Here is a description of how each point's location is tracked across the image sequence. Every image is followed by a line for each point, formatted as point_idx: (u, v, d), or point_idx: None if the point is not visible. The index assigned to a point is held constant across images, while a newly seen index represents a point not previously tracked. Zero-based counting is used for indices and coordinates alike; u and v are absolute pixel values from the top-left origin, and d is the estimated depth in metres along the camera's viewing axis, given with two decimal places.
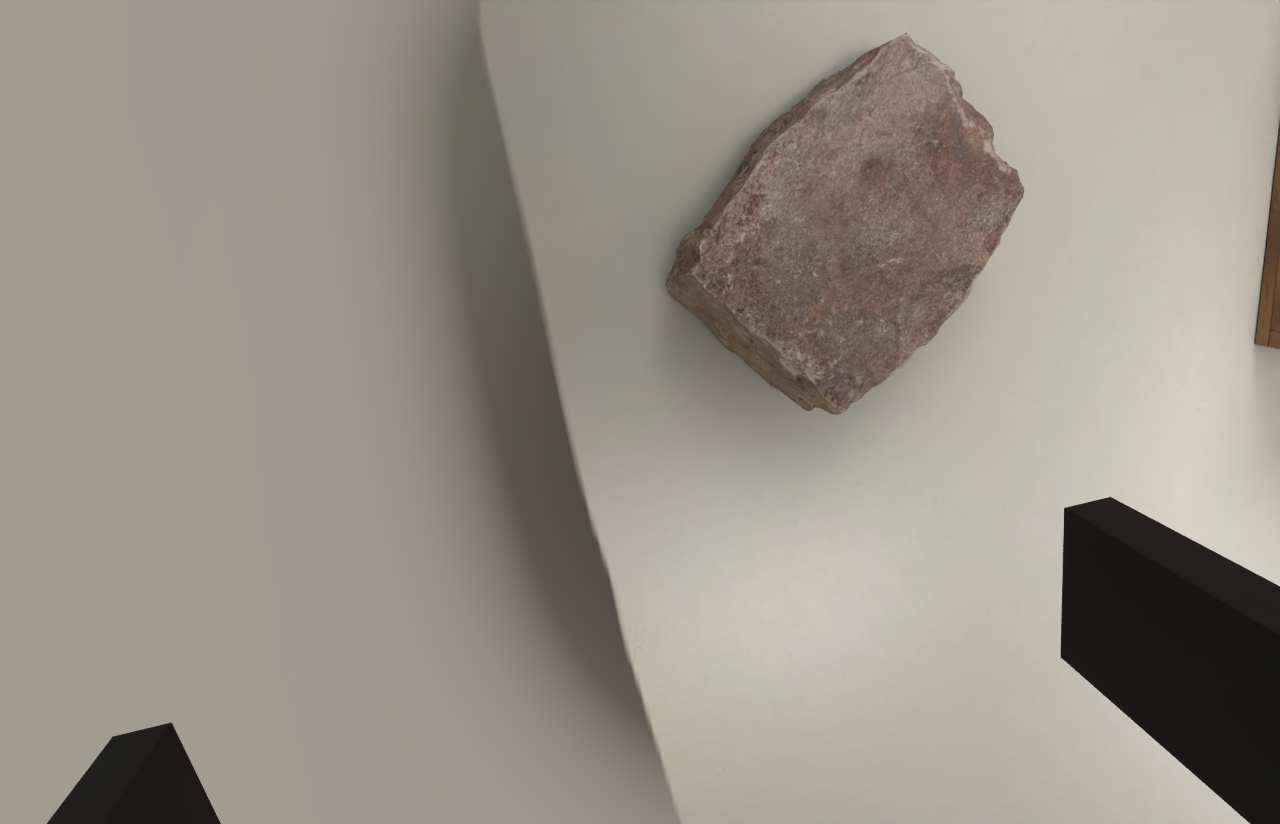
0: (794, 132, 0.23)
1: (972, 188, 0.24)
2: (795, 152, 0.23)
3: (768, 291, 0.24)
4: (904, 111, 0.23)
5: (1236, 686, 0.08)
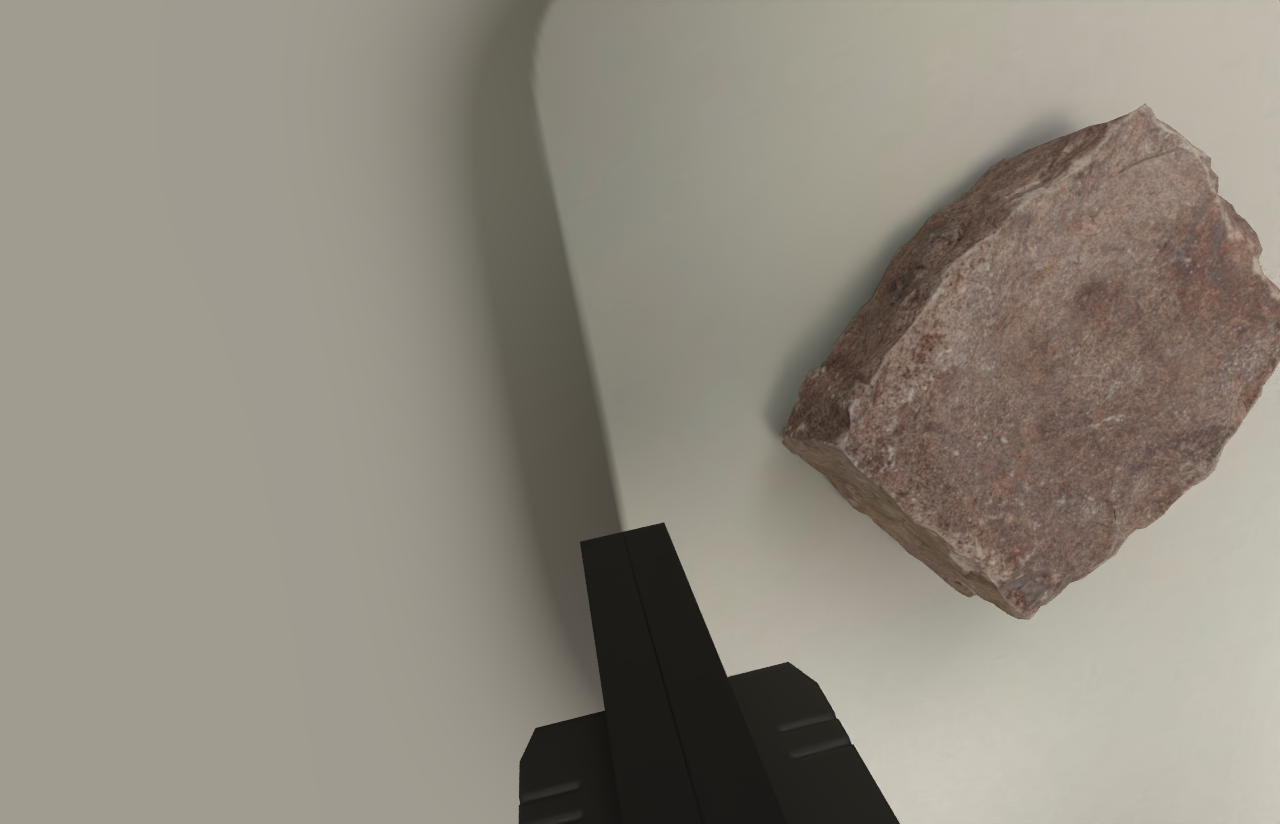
0: (987, 248, 0.16)
1: (1230, 322, 0.17)
2: (987, 275, 0.16)
3: (942, 466, 0.17)
4: (1146, 218, 0.16)
5: None
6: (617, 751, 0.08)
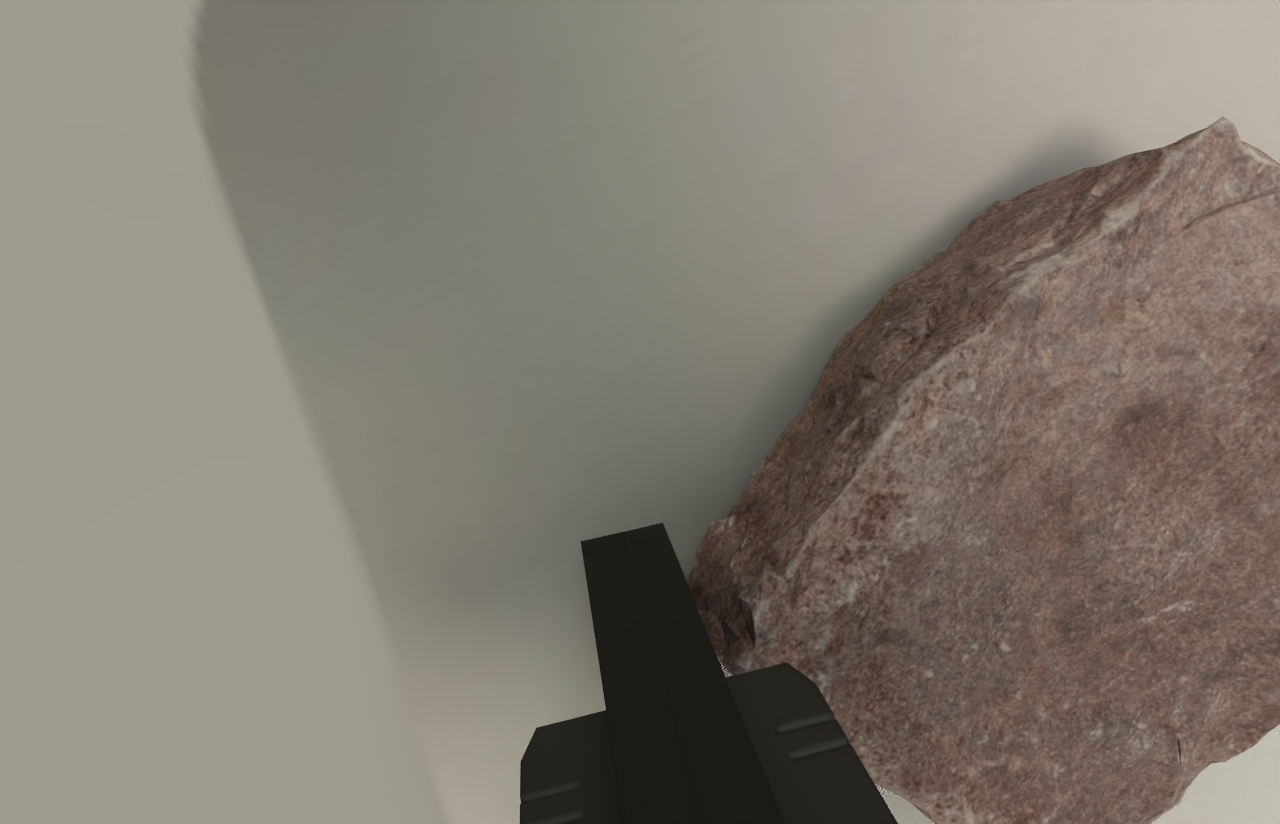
0: (971, 355, 0.10)
1: None
2: (972, 399, 0.10)
3: (907, 695, 0.11)
4: (1230, 305, 0.10)
5: None
6: (618, 751, 0.08)
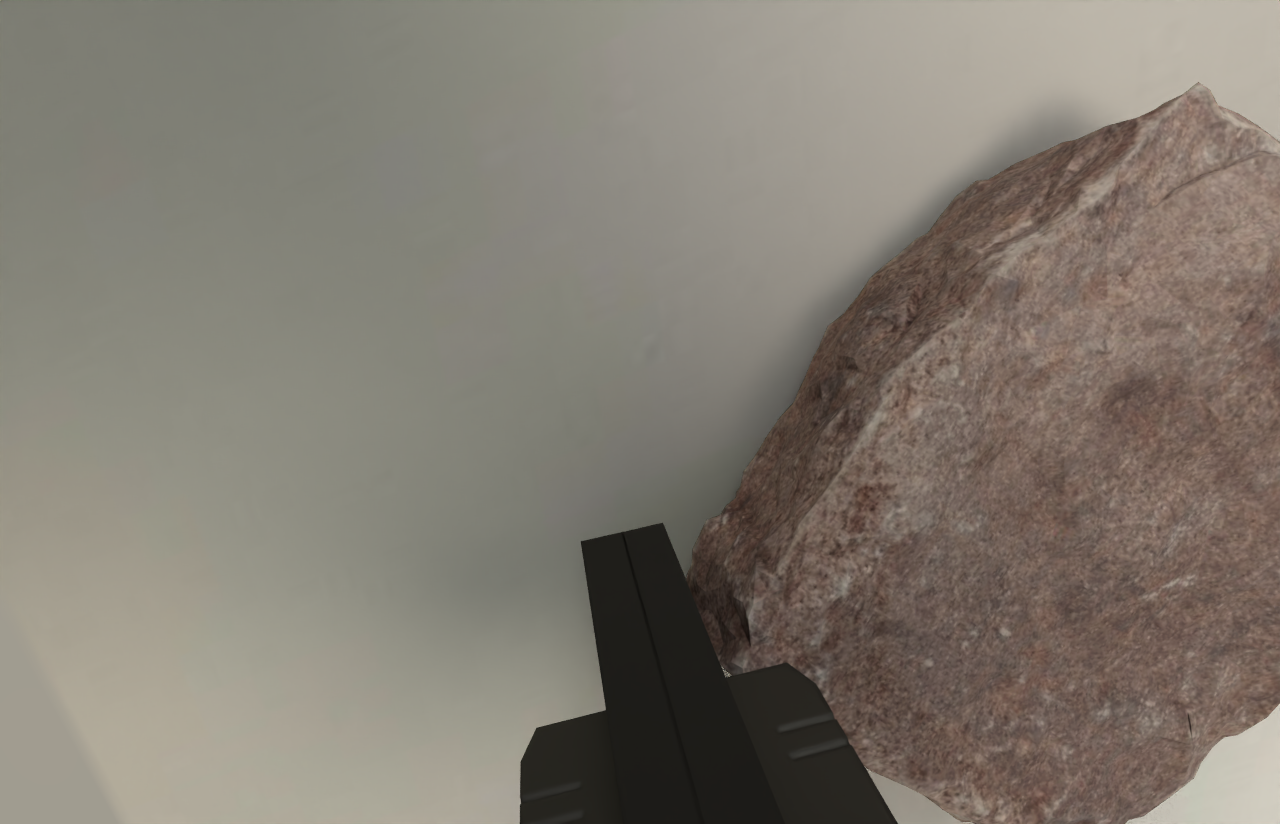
0: (953, 341, 0.10)
1: None
2: (955, 385, 0.10)
3: (907, 685, 0.11)
4: (1215, 274, 0.10)
5: None
6: (618, 751, 0.08)
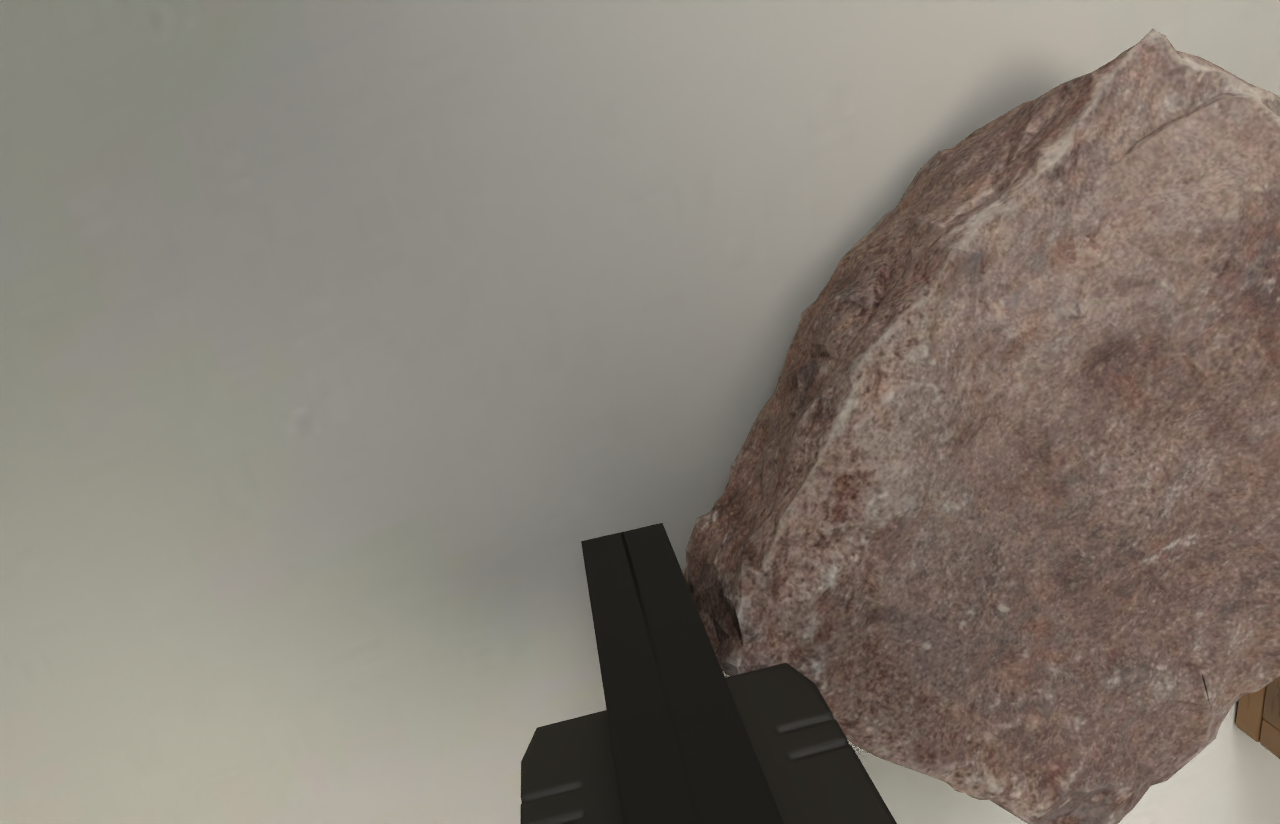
0: (919, 320, 0.10)
1: None
2: (926, 365, 0.10)
3: (906, 670, 0.11)
4: (1185, 226, 0.09)
5: None
6: (619, 750, 0.08)
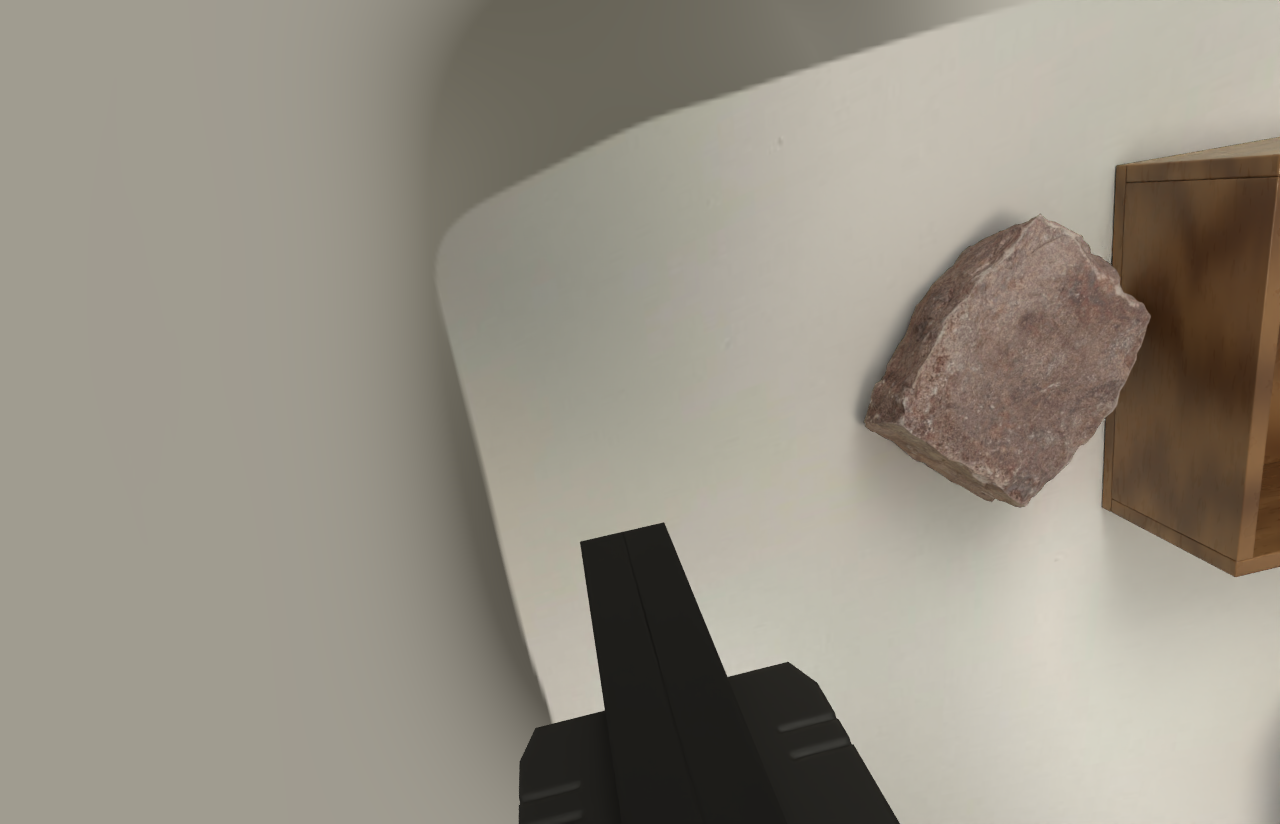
0: (965, 305, 0.30)
1: (1109, 323, 0.30)
2: (967, 320, 0.30)
3: (959, 426, 0.31)
4: (1049, 276, 0.30)
5: None
6: (617, 751, 0.08)
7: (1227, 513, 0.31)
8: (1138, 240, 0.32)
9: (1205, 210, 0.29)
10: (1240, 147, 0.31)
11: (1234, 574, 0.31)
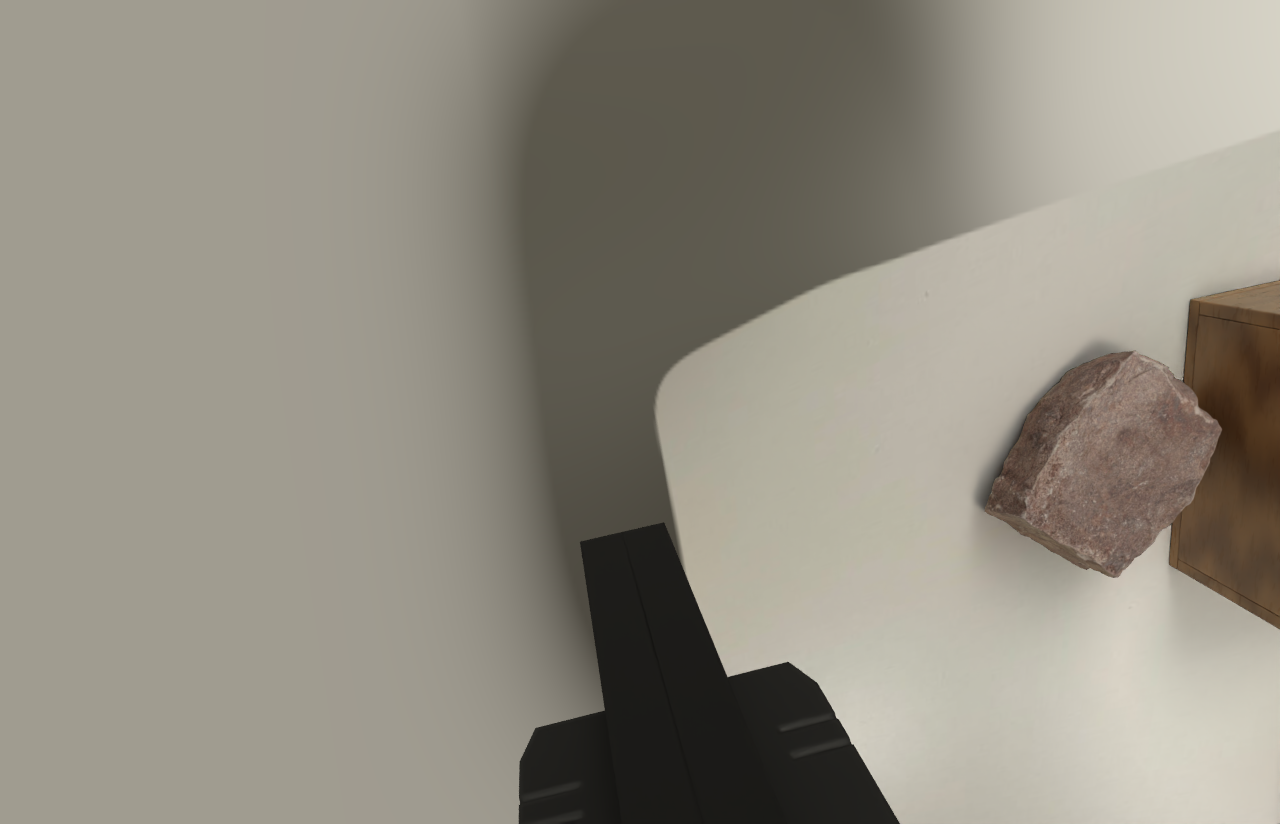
0: (1075, 424, 0.38)
1: (1189, 435, 0.38)
2: (1077, 435, 0.38)
3: (1068, 517, 0.39)
4: (1143, 401, 0.37)
5: None
6: (617, 751, 0.08)
7: None
8: (1208, 361, 0.40)
9: (1268, 351, 0.37)
10: None
11: None
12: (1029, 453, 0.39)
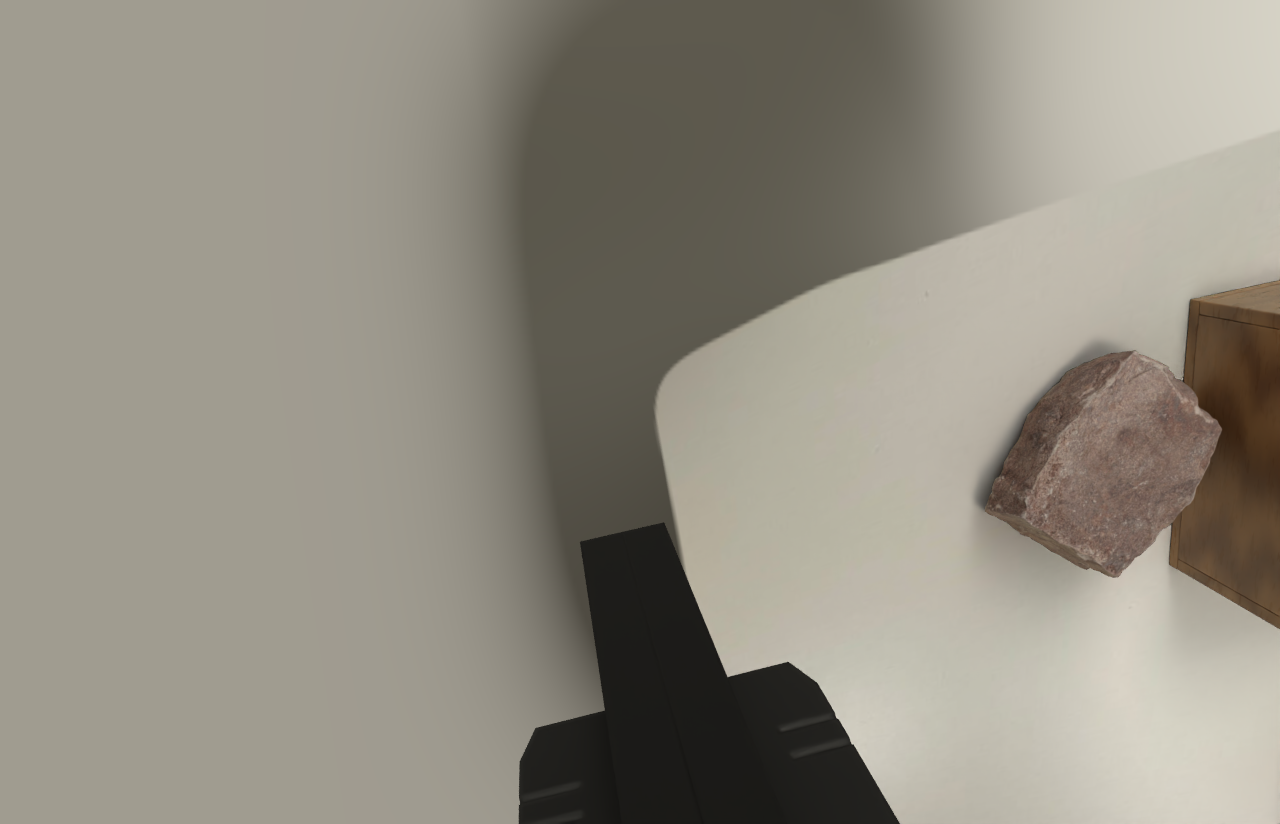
0: (1075, 424, 0.38)
1: (1189, 435, 0.38)
2: (1077, 435, 0.38)
3: (1069, 517, 0.39)
4: (1143, 401, 0.37)
5: None
6: (617, 751, 0.08)
7: None
8: (1208, 361, 0.40)
9: (1268, 351, 0.37)
10: None
11: None
12: (1029, 453, 0.39)
